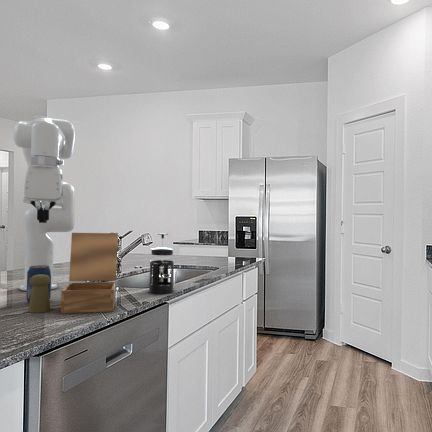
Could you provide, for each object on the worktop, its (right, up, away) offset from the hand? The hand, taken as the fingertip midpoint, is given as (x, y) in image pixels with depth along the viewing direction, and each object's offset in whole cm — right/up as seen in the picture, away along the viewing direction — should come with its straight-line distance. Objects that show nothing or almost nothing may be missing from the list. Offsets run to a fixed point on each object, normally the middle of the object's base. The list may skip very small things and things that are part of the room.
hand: (42, 222), depth 132 cm
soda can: (-8, -27, +11) cm, 30 cm away
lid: (+9, -12, +15) cm, 21 cm away
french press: (+26, -28, +36) cm, 52 cm away
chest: (+12, -27, +6) cm, 30 cm away
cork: (-1, -27, 0) cm, 27 cm away
